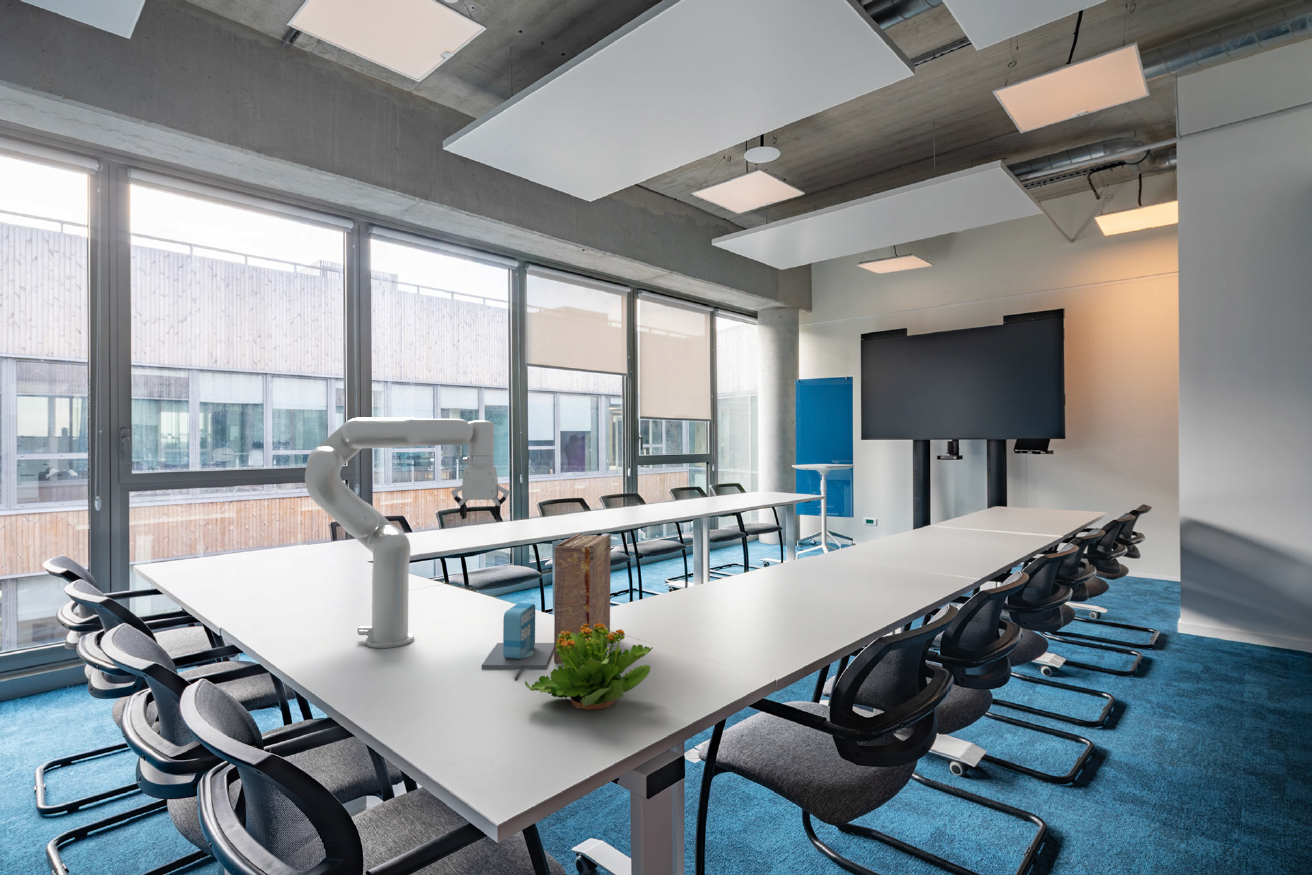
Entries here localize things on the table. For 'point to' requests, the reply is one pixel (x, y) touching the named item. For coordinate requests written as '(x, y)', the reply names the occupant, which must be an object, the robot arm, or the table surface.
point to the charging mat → (531, 660)
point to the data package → (519, 630)
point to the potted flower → (593, 668)
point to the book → (581, 584)
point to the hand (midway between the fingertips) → (480, 518)
